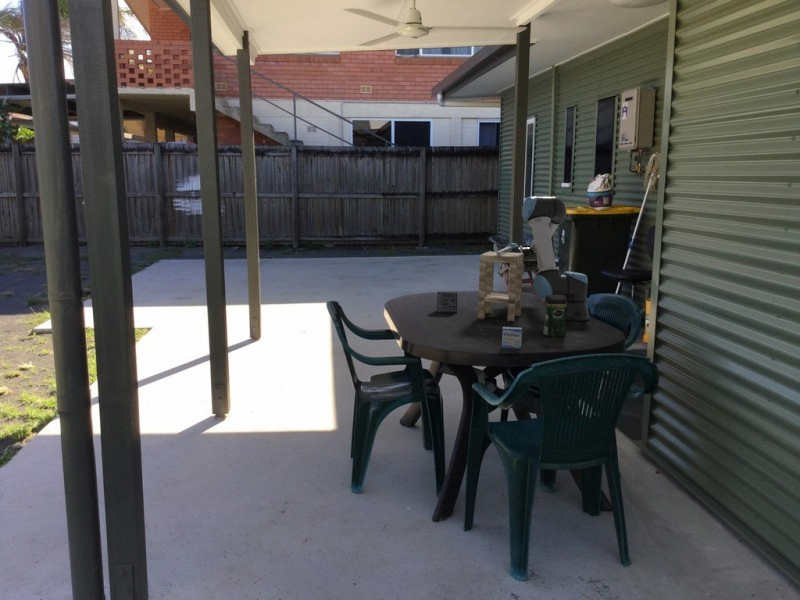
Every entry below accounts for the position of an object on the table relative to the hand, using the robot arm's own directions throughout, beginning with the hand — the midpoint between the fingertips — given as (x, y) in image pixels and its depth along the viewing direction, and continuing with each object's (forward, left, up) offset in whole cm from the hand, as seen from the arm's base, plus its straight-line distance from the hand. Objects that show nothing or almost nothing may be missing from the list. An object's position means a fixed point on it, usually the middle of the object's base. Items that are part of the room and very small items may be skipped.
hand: (507, 246), depth 342 cm
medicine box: (-47, +57, -35) cm, 82 cm away
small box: (+21, +22, -35) cm, 46 cm away
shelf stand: (-5, +11, -35) cm, 37 cm away
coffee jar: (-46, +24, -35) cm, 63 cm away
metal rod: (-3, +7, -3) cm, 8 cm away
